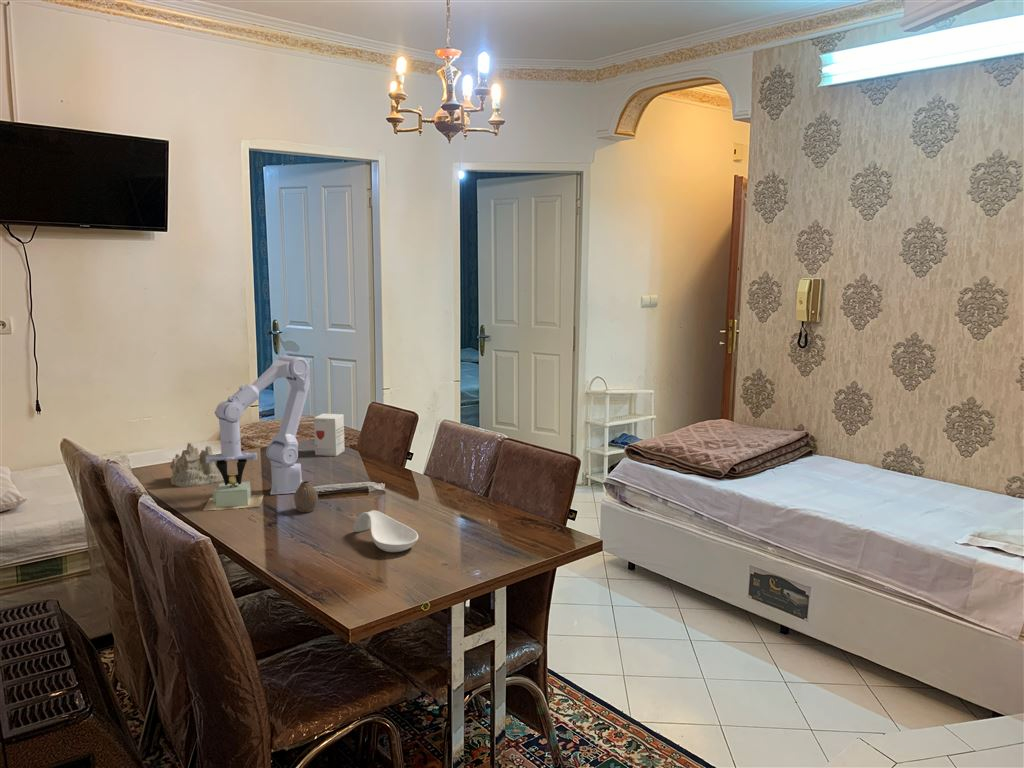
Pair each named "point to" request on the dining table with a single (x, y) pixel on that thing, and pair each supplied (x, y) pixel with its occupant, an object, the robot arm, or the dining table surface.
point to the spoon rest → (386, 531)
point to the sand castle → (194, 468)
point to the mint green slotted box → (232, 494)
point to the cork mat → (254, 502)
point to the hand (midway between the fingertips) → (233, 483)
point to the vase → (305, 497)
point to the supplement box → (329, 434)
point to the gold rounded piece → (232, 479)
